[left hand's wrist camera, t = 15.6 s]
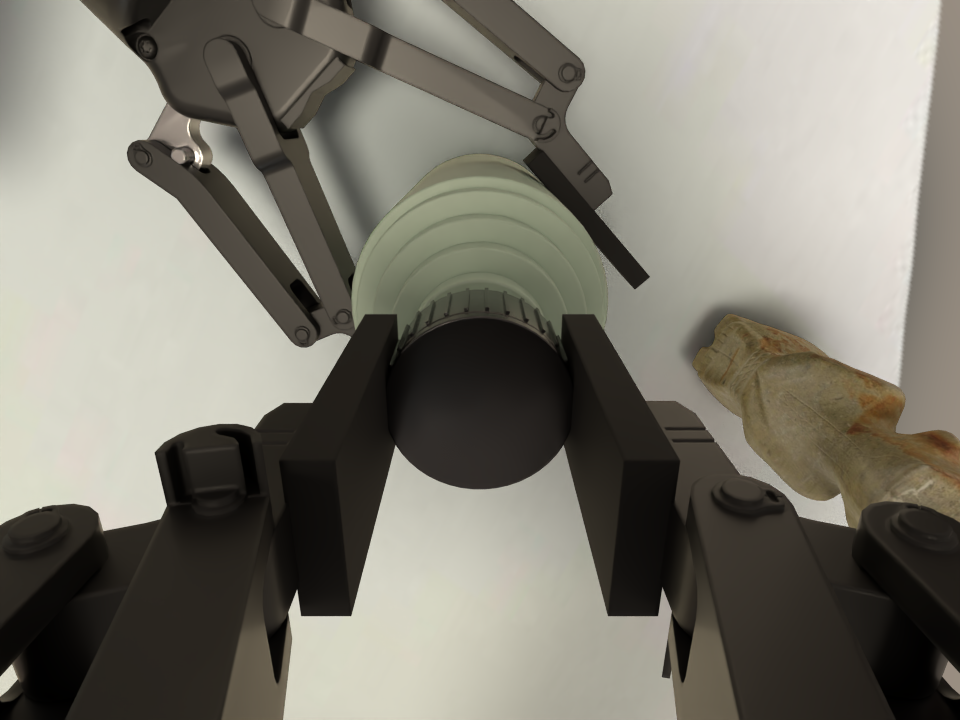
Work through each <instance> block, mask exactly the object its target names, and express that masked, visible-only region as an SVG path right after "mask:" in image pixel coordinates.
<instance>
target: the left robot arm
mask: <svg viewBox="0 0 960 720" xmlns="http://www.w3.org/2000/svg"><path fill="white" fill-rule="evenodd" d="M561 341H562V344H563V347H564V350H565V352H566V355H567V358H568V360H569V363H567V366H568V369H569V371H570V374H571V377H572V380H573V384H574V390H573V407H572V422H571V430H570V433H569V436H568V438H567V439H566V441H565V443H564V447H565V451H566V455H567V459H568V463H569V466H570V470H571V474H572V478H573V482H574V486H575V490H576V494H577V497H578V501H579V505H580V509H581V513H582V517H583V521H584V525H585V528H586V532H587V536H588V540H589V544H590V548H591V552H592V556H593V559H594V563H595V567H596V571H597V575H598V579H599V583H600V587H601V590H602V594H603V598H604V602H605V606H606V610H607V614H608V616H658V613H659V606H660V599H661V592H662V587H663V589H664V592H665V595H666V597H667V600H668V602H669V605H670V607H671V610H672V615H671V621H670V628H669V634H668V641H667V647H666V654H665V660H664V666H663V673H662V677H664V678H670V674H671V669H672V678H673V687H674V696H675V704H676V713H677V720H960V695H959V694H958V693H957V692H956V691H955V690H954V689H953V688H952V687H951V686H950V685H949V684H948V683H947V682H946V681H945V679H944V678H943V677H942V675H943V673H944V670H945V667H946V665H947V662H948V661H949V662H950V663H951V664H952V665H953V666H954V667H955V668H956V669H957V670H958V672H959V673H960V522H958V521H957V520H955V519H953V518H951V517H949V516H946V515H944V514H942V513H939V512H937V511H936V510H934V509H932V508H929V507H926V506H922V505H921V506H918V504H913V503H908V502H892V501H884V502H878V503H872V504H870V505H868V506H867V507H866V508H864V509H863V510H862V512H861V515H860V519H859V522H858V526H857V529H856V528H851V527H846V526H840V525H835V524H830V523H825V522H819V521H814V520H810V519H806V518H802V517H798V515H797V513H796V510H795V508H794V506H793V505H792V503H791V502H790V501H789V500H788V498H787V497H786V496H785V495H784V494H783V493H782V492H780V491H778V490H777V489H775V488H774V487H772V486H771V485H769V484H767V483H764V482H762V481H759V480H757V479H754V478H752V477H747V476H742V475H740V474H739V472H738V471H737V470H736V468H735V467H734V466H733V464H732V463H731V462H730V460H729V459H728V457H727V456H726V455H725V453H724V452H723V451H722V449H721V448H720V447H719V445H718V444H717V443H714V438H713V437H712V436H711V434H710V433H709V432H708V430H706V428H705V426H704V425H703V423H702V422H701V421H700V419H699V418H698V417H697V415H696V414H695V413H694V412H692V411H691V410H689V409H687V408H686V407H684V406H682V405H681V404H679V403H678V402H676V401H645V400H644V398H643V396H642V394H641V393H640V391H639V389H638V388H637V386H636V384H635V383H634V381H633V379H632V377H631V376H630V374H629V372H628V371H627V369H626V367H625V366H624V364H623V362H622V360H621V359H620V357H619V355H618V354H617V352H616V350H615V349H614V347H613V345H612V343H611V342H610V340H609V338H608V337H607V335H606V333H605V332H604V330H603V328H602V327H601V325H600V323H599V321H598V320H597V318H596V316H595V315H594V314H562V328H561ZM397 342H398V323H397V314H365V315H364V317H363V318H362V320H361V322H360V324H359V325H358V327H357V329H356V330H355V332H354V334H353V335H352V337H351V339H350V341H349V342H348V344H347V346H346V347H345V349H344V351H343V352H342V354H341V356H340V358H339V359H338V361H337V363H336V364H335V366H334V368H333V369H332V371H331V373H330V374H329V376H328V378H327V380H326V381H325V383H324V385H323V386H322V388H321V390H320V391H319V393H318V395H317V397H316V398H315V400H314V402H313V403H283V404H282V405H280V406H279V407H277V408H275V409H274V410H272V411H271V412H269V413H267V414H266V415H264V417H263V418H262V419H261V421H260V422H259V424H258V425H257V426H256V428H255V429H253V428H252V427H248V426H244V425H239V424H217V425H211V426H205V427H199V428H196V429H193V430H190V431H187V432H184V433H181V434H179V435H177V436H175V437H173V438H172V439H170V440H168V441H166V442H164V443H163V444H162V445H161V447H160V448H159V449H158V450H157V451H156V452H155V456H156V460H157V465H158V469H159V473H160V477H161V482H162V486H163V490H164V495H165V499H166V503H167V507H166V509H165V511H164V514H163V516H162V518H161V519H160V520H156V521H152V522H148V523H144V524H138V525H133V526H128V527H123V528H118V529H112V530H107V531H103V529H102V525H101V522H100V518H99V515H98V513H97V512H96V511H94V510H93V509H92V508H91V507H89V506H83V505H77V504H66V505H51V506H46V507H42V509H39V508H37V509H34V510H31V511H28V512H26V513H24V514H23V515H21V516H18V517H16V518H13V519H11V520H9V521H6V522H5V523H3V524H2V525H0V676H1V675H2V674H3V673H4V672H5V671H6V670H7V669H8V667H9V666H10V665H11V664H12V665H13V667H14V670H15V672H16V675H17V678H18V680H17V681H16V682H15V683H14V684H13V685H12V687H11V688H10V689H9V690H8V691H7V692H6V693H4V694H3V695H2V696H1V697H0V720H283V715H284V706H285V697H286V688H287V680H288V671H289V662H290V653H291V645H292V634H291V628H290V621H289V615H288V611H289V609H290V606H291V603H292V601H293V598H294V596H295V593H296V591H297V590H298V597H299V604H300V611H301V616H351V615H352V611H353V607H354V603H355V599H356V595H357V592H358V588H359V584H360V580H361V576H362V572H363V568H364V564H365V561H366V557H367V553H368V549H369V545H370V541H371V537H372V533H373V530H374V526H375V522H376V518H377V514H378V510H379V506H380V502H381V499H382V495H383V491H384V487H385V483H386V479H387V475H388V472H389V468H390V464H391V460H392V456H393V452H394V448H395V443H394V441H393V439H392V437H391V435H390V432H389V430H388V417H387V402H386V381H387V378H388V375H389V372H390V369H391V368H389V367H388V366H389V363H390V361H391V358H392V355H393V353H394V350H395V347H396V345H397Z"/></svg>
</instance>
